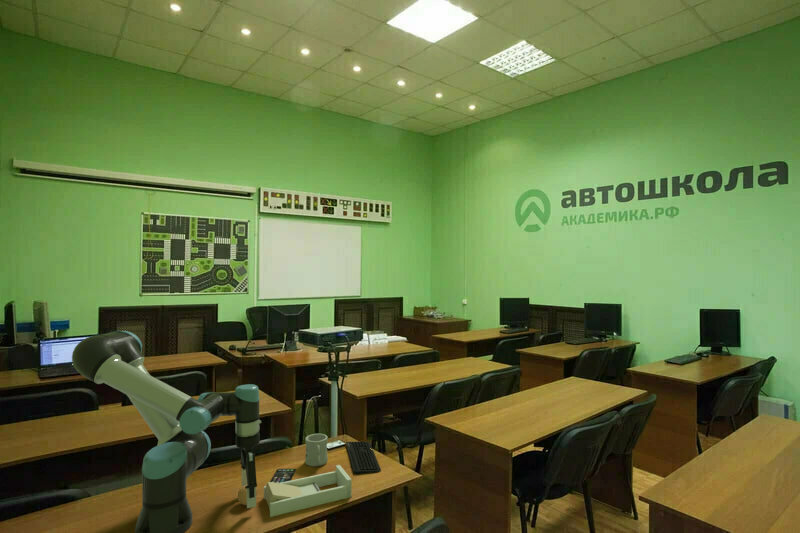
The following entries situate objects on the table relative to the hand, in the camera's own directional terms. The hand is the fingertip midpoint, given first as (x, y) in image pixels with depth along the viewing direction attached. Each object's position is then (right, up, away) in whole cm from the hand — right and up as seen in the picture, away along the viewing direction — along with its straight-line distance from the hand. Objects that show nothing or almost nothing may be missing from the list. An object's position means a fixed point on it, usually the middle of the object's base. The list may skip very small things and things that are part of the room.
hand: (248, 497), depth 143 cm
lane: (+19, -2, +4) cm, 19 cm away
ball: (0, +1, 0) cm, 1 cm away
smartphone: (+6, -3, +18) cm, 19 cm away
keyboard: (+35, -4, +36) cm, 50 cm away
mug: (+17, -3, +30) cm, 35 cm away
